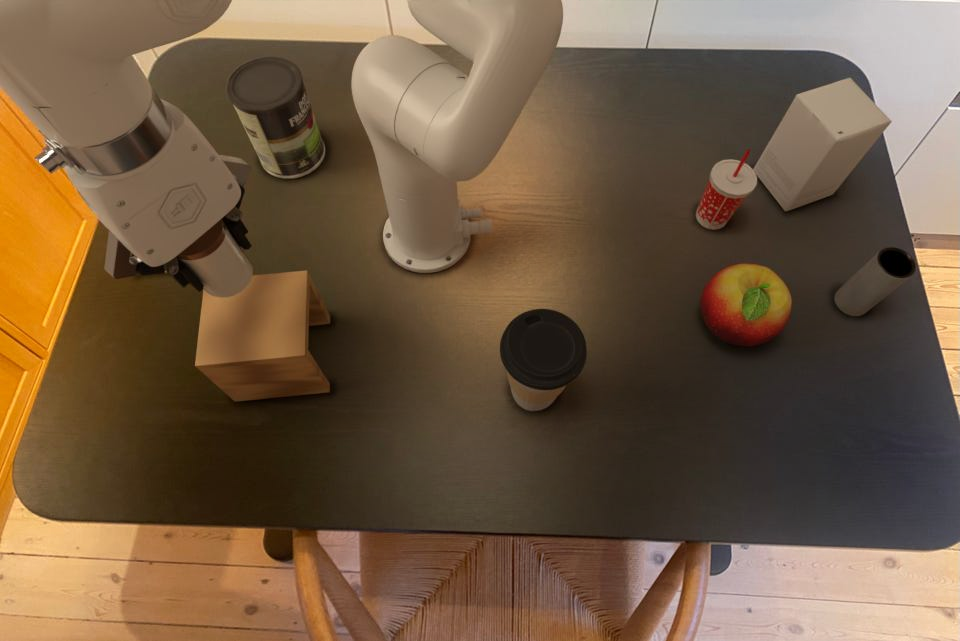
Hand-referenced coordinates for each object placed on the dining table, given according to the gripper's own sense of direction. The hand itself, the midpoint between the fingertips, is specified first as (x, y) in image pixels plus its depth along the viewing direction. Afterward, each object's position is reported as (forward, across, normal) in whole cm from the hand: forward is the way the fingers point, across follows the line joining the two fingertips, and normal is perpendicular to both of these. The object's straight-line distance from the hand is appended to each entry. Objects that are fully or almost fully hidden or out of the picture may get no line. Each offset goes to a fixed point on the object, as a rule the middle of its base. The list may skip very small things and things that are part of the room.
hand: (215, 260), depth 58 cm
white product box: (+25, +68, -39) cm, 82 cm away
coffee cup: (+24, +16, -28) cm, 40 cm away
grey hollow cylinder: (+24, +54, -54) cm, 80 cm away
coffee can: (+24, +24, +25) cm, 42 cm away
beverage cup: (+24, +54, -32) cm, 68 cm away
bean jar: (+3, 0, 0) cm, 3 cm away
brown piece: (+23, -1, 0) cm, 23 cm away
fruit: (+24, +41, -43) cm, 64 cm away
